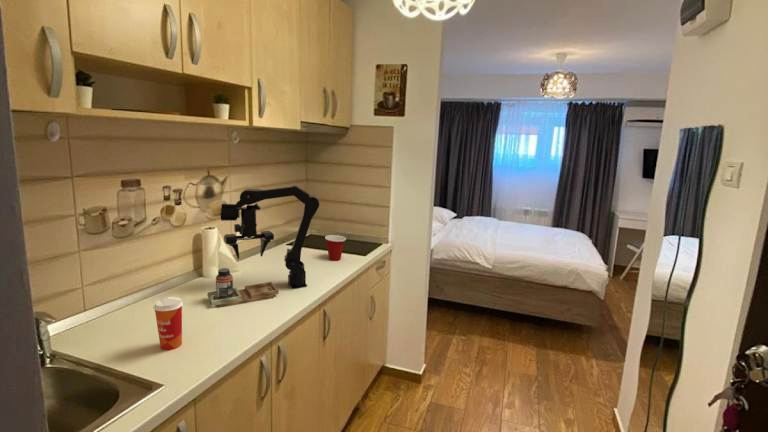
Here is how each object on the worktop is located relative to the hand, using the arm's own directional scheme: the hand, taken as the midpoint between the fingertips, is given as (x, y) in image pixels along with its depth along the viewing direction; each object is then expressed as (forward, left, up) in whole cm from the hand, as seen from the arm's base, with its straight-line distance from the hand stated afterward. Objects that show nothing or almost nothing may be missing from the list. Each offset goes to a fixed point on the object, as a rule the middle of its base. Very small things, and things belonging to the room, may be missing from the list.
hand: (249, 257), depth 165 cm
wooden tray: (+5, +9, -13) cm, 17 cm away
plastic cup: (-48, -21, -13) cm, 54 cm away
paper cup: (+32, +37, -13) cm, 51 cm away
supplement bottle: (+12, +9, -12) cm, 19 cm away
